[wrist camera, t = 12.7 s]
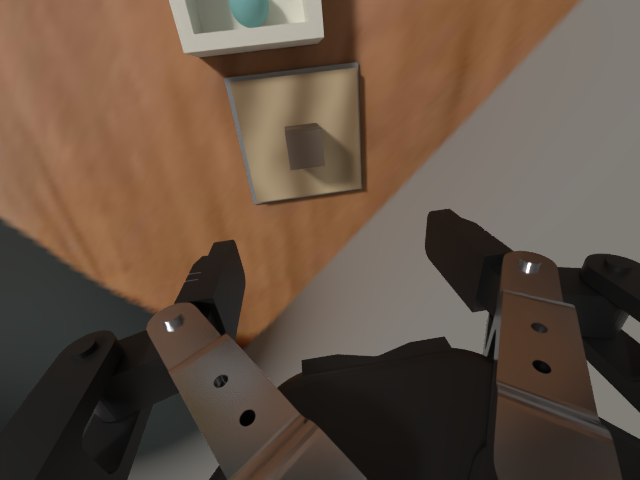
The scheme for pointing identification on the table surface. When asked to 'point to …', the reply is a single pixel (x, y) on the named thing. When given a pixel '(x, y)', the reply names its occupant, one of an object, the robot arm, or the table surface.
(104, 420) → the robot arm
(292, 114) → the lid
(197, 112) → the table surface
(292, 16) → the box
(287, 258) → the table surface
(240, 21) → the ball
